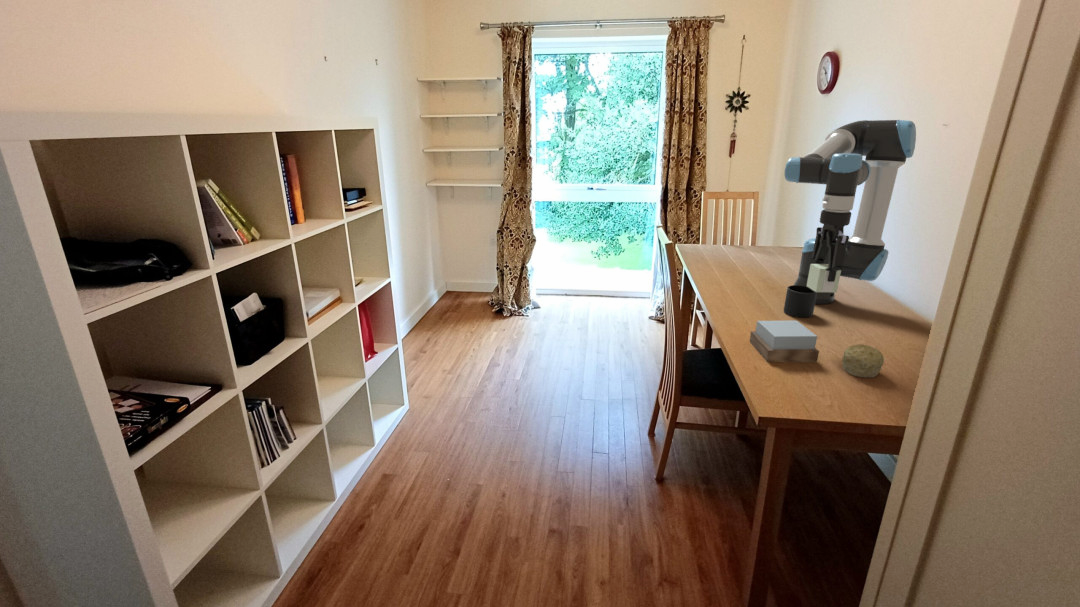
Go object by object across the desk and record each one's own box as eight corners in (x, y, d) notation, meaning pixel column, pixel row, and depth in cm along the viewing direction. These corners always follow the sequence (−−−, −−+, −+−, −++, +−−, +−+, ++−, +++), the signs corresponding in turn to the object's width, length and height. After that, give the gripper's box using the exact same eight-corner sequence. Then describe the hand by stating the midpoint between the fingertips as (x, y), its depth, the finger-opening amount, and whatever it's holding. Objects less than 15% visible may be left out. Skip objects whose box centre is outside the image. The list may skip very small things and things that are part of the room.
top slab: (794, 332, 155) (796, 320, 154) (814, 349, 144) (817, 336, 143) (755, 332, 155) (757, 320, 154) (772, 349, 144) (774, 336, 143)
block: (826, 286, 155) (830, 264, 152) (836, 292, 149) (841, 269, 147) (806, 286, 155) (810, 263, 153) (815, 292, 149) (820, 269, 147)
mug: (810, 308, 186) (815, 284, 183) (814, 319, 175) (818, 294, 172) (782, 305, 189) (786, 281, 186) (783, 316, 178) (788, 291, 175)
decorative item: (841, 375, 145) (827, 350, 141) (872, 355, 143) (858, 330, 140) (864, 392, 136) (850, 366, 132) (897, 371, 134) (883, 344, 131)
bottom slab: (795, 343, 157) (797, 331, 156) (816, 364, 144) (819, 351, 143) (749, 343, 158) (751, 331, 157) (766, 363, 145) (768, 350, 143)
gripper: (807, 205, 153) (794, 278, 161) (840, 215, 135) (824, 298, 143) (833, 205, 153) (818, 279, 161) (869, 215, 135) (851, 298, 143)
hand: (821, 287), depth 152 cm, fingers closed on block, 6 cm apart
